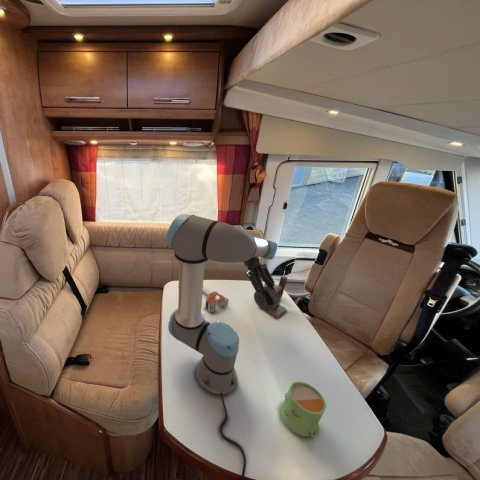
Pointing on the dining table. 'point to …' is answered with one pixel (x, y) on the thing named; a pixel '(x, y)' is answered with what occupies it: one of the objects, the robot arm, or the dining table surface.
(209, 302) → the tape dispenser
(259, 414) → the dining table surface
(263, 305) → the tape roll
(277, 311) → the tape stand
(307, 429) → the mug
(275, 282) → the small box
